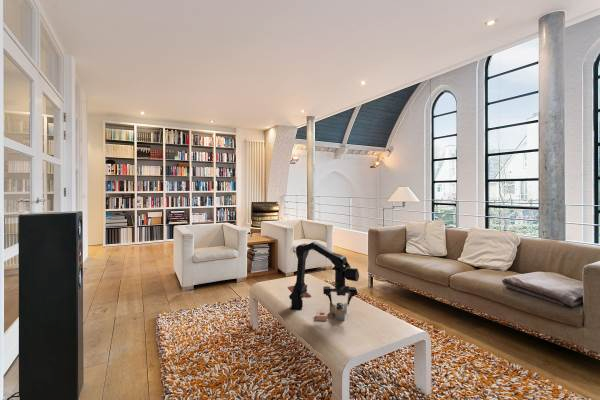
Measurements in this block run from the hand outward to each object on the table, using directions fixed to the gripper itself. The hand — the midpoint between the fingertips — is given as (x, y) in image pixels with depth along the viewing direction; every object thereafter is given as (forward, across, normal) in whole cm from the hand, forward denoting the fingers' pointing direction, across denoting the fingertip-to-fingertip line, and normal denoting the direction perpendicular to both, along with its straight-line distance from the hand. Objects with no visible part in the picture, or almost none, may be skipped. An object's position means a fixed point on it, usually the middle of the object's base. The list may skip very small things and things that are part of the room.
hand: (339, 305), depth 173 cm
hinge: (+8, 0, +3) cm, 8 cm away
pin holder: (+8, -10, 0) cm, 12 cm away
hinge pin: (+8, 0, 0) cm, 8 cm away
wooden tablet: (+8, -25, +44) cm, 51 cm away
